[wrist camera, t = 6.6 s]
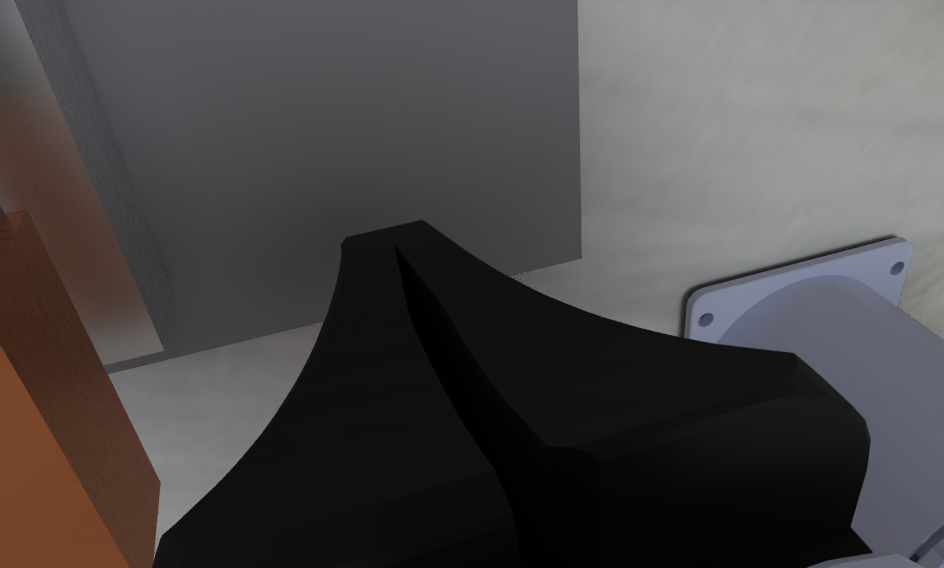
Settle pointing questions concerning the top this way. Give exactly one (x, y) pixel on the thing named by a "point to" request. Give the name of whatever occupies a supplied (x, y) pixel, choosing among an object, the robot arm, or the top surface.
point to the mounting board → (333, 141)
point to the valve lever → (62, 428)
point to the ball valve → (77, 183)
